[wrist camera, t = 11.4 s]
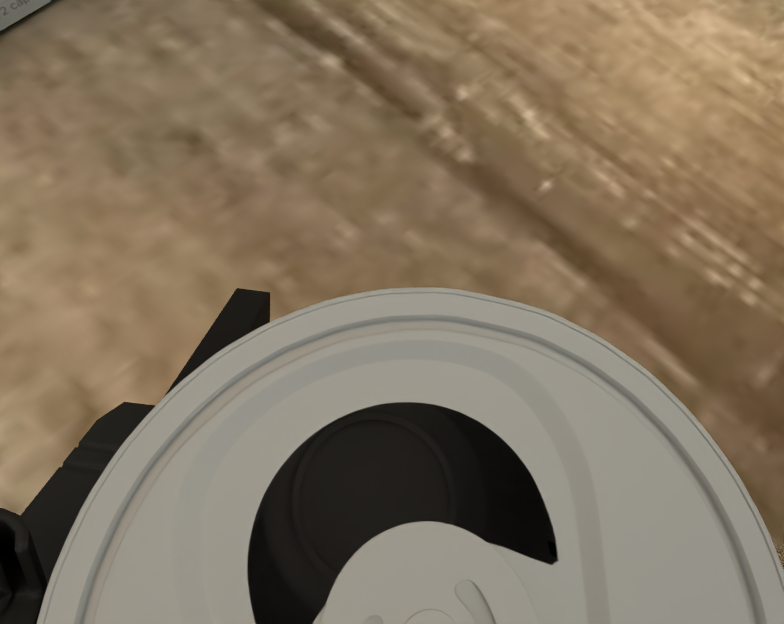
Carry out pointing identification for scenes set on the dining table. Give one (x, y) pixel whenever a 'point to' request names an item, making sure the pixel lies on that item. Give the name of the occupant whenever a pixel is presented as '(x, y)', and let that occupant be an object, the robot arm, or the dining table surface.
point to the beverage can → (418, 483)
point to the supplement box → (17, 10)
